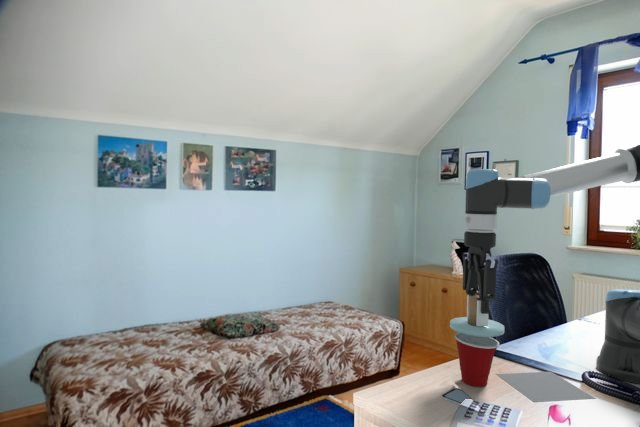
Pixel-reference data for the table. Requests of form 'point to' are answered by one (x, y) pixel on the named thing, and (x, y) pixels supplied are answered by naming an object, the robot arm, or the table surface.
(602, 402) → the table surface
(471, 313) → the lid
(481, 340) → the plastic cup
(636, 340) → the robot arm
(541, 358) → the table surface
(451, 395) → the smartphone
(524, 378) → the mat
